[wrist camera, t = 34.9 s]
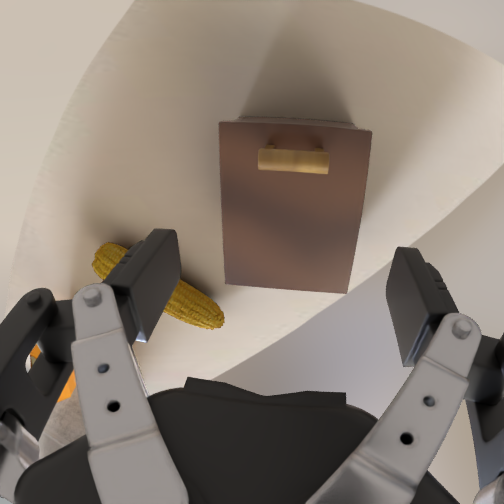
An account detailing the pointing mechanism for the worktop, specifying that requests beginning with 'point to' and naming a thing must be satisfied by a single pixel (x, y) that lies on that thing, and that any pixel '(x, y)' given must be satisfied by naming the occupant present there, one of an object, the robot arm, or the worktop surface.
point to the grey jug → (62, 425)
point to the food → (181, 301)
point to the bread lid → (291, 203)
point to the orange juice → (70, 383)
